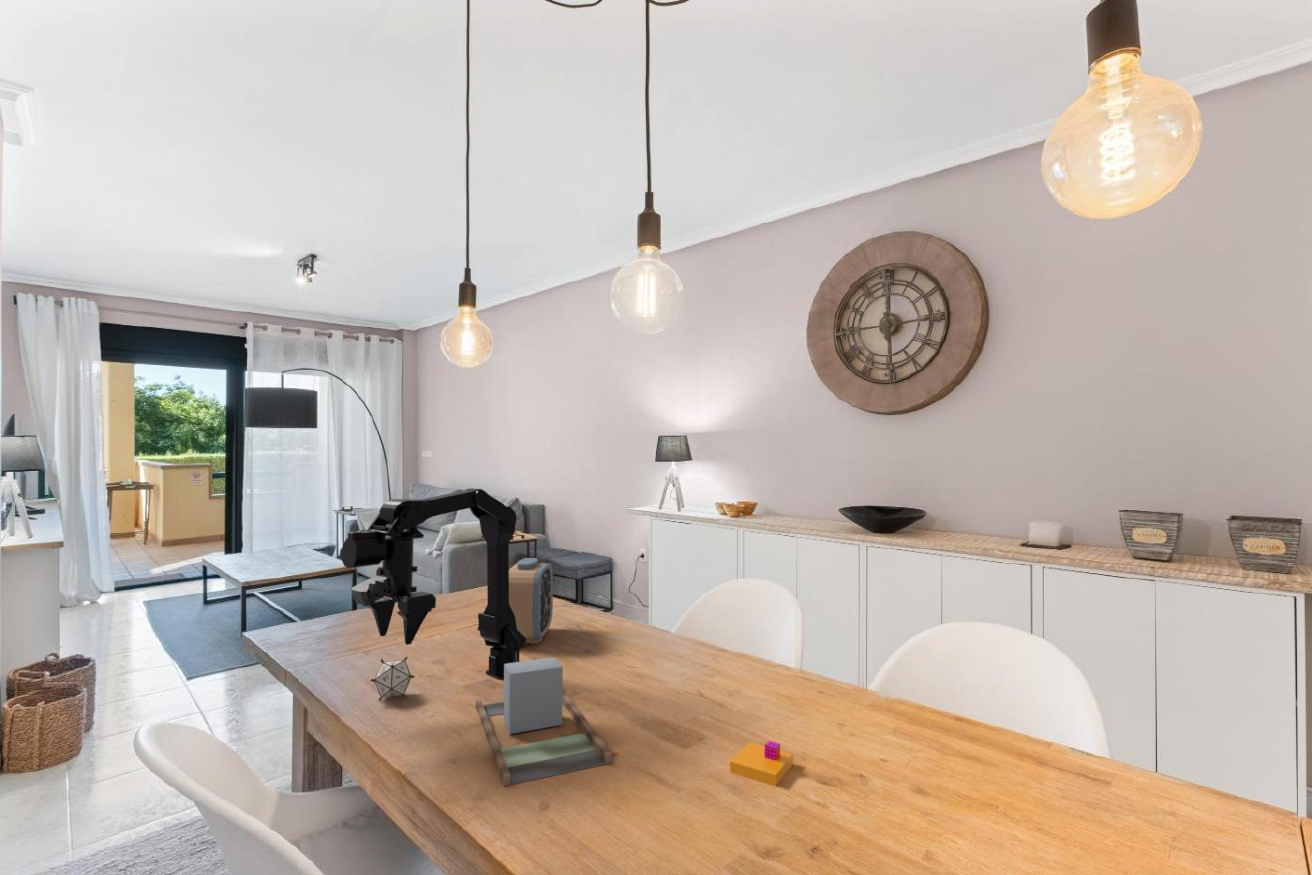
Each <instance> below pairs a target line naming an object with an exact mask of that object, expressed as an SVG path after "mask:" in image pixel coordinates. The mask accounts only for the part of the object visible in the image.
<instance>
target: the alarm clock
mask: <svg viewBox="0 0 1312 875" xmlns="http://www.w3.org/2000/svg"><path fill="white" fill-rule="evenodd" d="M553 571H554V570H553V565H552V564H551V563H549V562H548V563H547V562H545V563H544V562H543V563H541V562H540V563H539V559H538V558H536V557H525V558H522V559H519V561H517V563H515V564H514V565H513V566H512V567H509V605H510V607H511V609H512V611H513V613H514V615H515V618H516V625H517V630H518V631H519V632H520V633H521V634H522V635H523V636H524V637H525V638H526V642H525V643H539V642H540V643H541V641H542V640H543V638H544V637H545V635H546V634H547V632H548V631H549V628H550V627H551V624H552V619H553V607H554V606H553V605H554V604H553V602H554V601H553V600H554V598H553V597H554V596H553V595H554V594H553V593H554V574H553ZM545 633H546V634H545ZM543 636H544V637H543ZM540 643H539V644H540Z"/></svg>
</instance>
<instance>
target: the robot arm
mask: <svg viewBox="0 0 1312 875" xmlns="http://www.w3.org/2000/svg"><path fill="white" fill-rule="evenodd" d="M467 509H469V511H470V512H471V514H472V515H473V516H474V517H475V518H477V519H478V520H479V525H480V526H479V528H480V532H481V534H482V537H483V538H484V541H485V543H486V549H487V553H486V554H487V556H486V558H487V559H486V561H487V562H486V563H487V566H486V567H487V568H486V570H487V572H486V573H487V576H486V577H487V582H486V585H487V588H486V589H487V592H486V594H487V602H486V603H487V604H486V607H485V608H484V611H483V612H479V613H478V615H477V618H478V619H477V620H478V625H477V626H478V627H477V631H478V632H479V635H480V637H481V638H482V639H483V640H484V643H485V646H488V647H490V648H489V655H488V670H485V673H486V674H487V675H490V676H492V677H496V678H498V679H500V680H504V664H508V663H515V662H520V651H521V649H523V648H525V645H526V644H525V642H526V638H525V637H524V636H523V635H522V634H521V633H520V632H519V631H518V630H517V625H516V618H515V615H514V613H513V611H512V609H511V607H510V605H509V569H510V553H509V552H510V551H509V550H510V548H509V547H510V541H511V540H512V538H513V536H514V535H515V532H516V525H517V513H516V511H515V510H514V509H513V508H512V507H510V506H507V505H505V504H504V503H503V502H501V501H499V500H497V499H496V498H495V497H493V496H491V495H490V494H489V493H488V492H487V491H486V490H483V489H482V488H473V487H472V488H470V487H469V488H466V489H465V490H459V491H455V492H450V493H445V494H441V495H435V496H431V497H427V498H420V499H419V498H412V499H411V498H392V499H388V500H386V501H384V502H383V503H382V506H380V510H379V513H378V514H377V516H376V517H375V518H374V520H373V521H372V523H371V524H370V525H369V527H368V528H367V529H366V531H348V532H347V538H346V539H345V540H344V542H343V544H342V548H340V557H341V561H342V564H343V566H344V567H345V568H347V569H354V568H361V567H363V568H364V567H368V566H369V567H371V566H377V565H380V564H381V563H382V564H381V565H382V566H378V567H377V569H376V570H375V571H376V573H375V576H373V577H370V578H368V579H366V580H364V581H362V582H360V583H358V584H356V585H354V586H352V587H351V589H350V590H351V592H352V596H353V600H354V601H355V604H356V605H362V606H363V607H367V608H369V609H370V610H371V611H372V613H373V614H372V615H373V618H374V619H375V623H376V627H377V630H378V633H379V636H380V637H385V636H386V635H387V633H388V631H389V626H390V624H391V619H392V617H393V612H394V608H395V604H396V603H397V608H398V610H399V611H397V612H396V613H397V614H398V616H400V618H402V622H403V634H404V643H405V645H407V646H408V645H411V644H412V642H413V641H414V640H415V637H416V635H417V634H418V631H419V630H420V627H421V625H422V624H423V622H424V620H425V618H426V617H427V615H428V614H429V613H430V612H432V610H433V609H436V607H437V597H436V596H435V595H434V594H433V593H431V592H426V591H418V592H417V588H418V587H417V586H416V585H415V586H414V585H413V573H416V572H418V566H416V565H414V545H415V543H414V540H415V539H423V538H424V537H425V535H424V534H423V533H422V532H421V531H420V530H418V527H417V526H418V525H422V524H424V523H425V522H426V521H428V520H429V519H430V518H433V517H436V516H441V515H445V514H449V513H453V512H458V511H462V510H467Z"/></svg>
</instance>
